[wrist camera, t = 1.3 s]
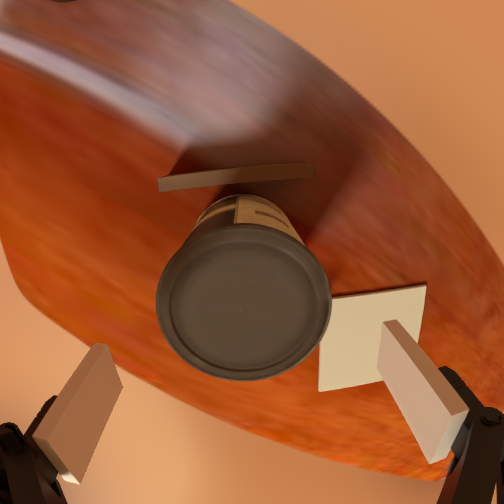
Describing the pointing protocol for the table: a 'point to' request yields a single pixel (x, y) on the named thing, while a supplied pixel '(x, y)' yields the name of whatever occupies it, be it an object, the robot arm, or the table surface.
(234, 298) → the coffee can
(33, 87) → the table surface
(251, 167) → the wooden bars
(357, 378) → the mat
